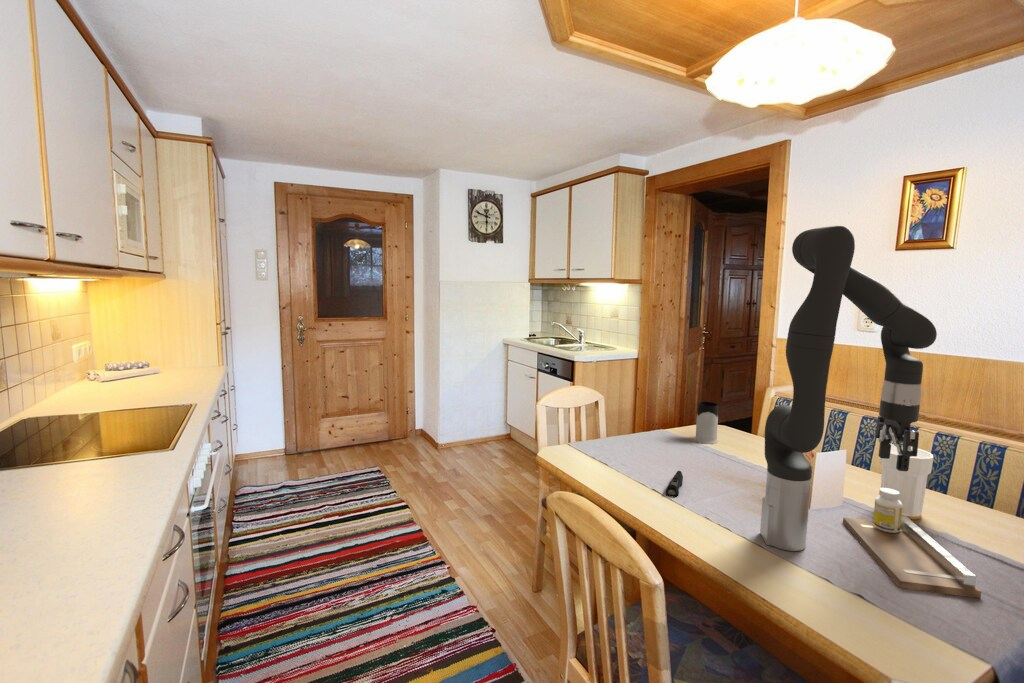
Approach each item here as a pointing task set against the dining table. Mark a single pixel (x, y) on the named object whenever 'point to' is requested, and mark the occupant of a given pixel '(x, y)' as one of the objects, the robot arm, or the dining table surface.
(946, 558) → the metal straightedge
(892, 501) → the supplement bottle
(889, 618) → the dining table surface
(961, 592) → the brown flat wooden board
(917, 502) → the cup
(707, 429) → the glass holder
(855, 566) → the dining table surface
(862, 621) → the dining table surface
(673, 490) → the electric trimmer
